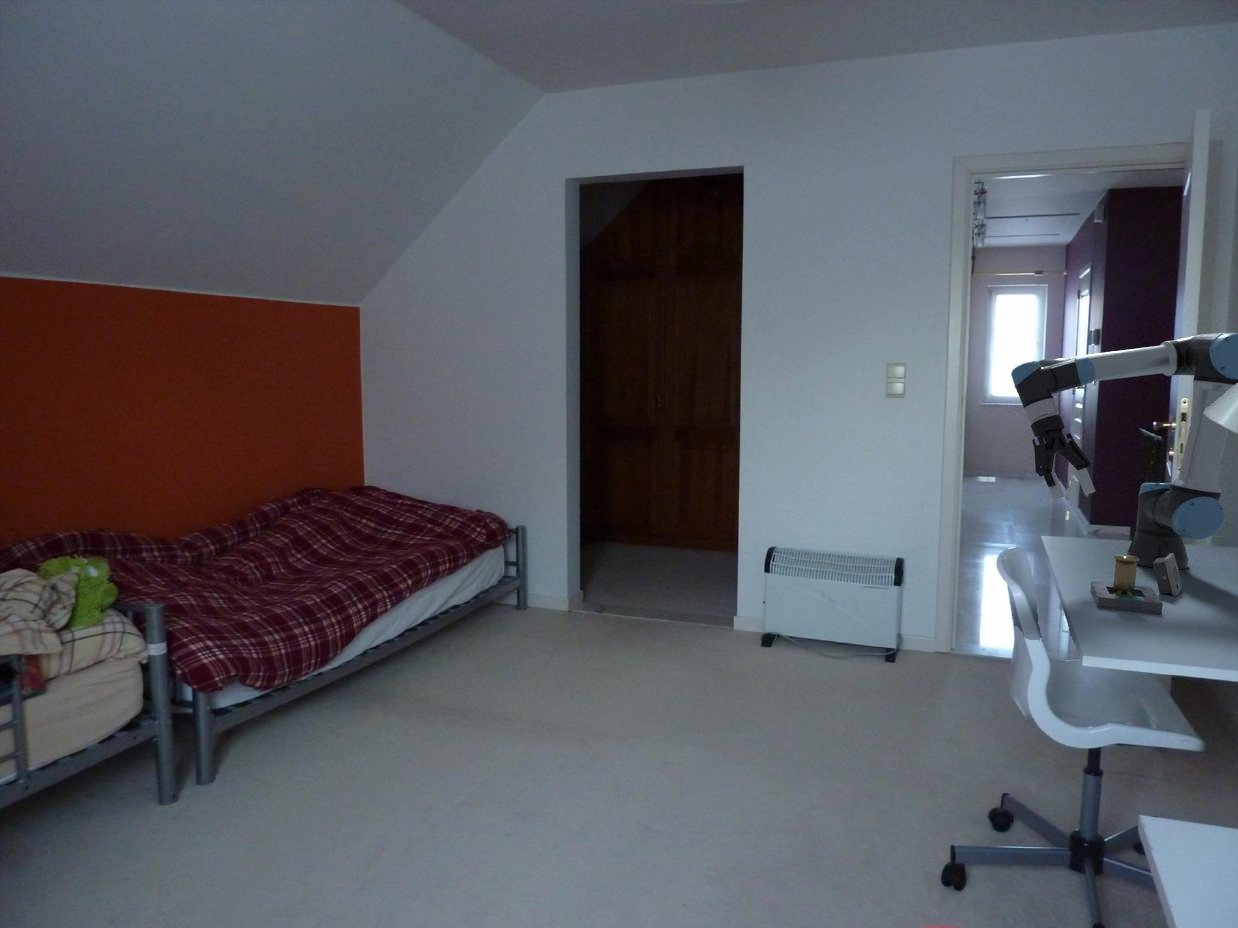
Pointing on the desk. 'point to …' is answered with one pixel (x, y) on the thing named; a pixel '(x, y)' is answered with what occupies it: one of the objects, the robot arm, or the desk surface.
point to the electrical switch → (1167, 575)
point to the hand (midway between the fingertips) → (1074, 495)
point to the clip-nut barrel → (1125, 574)
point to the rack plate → (1126, 599)
